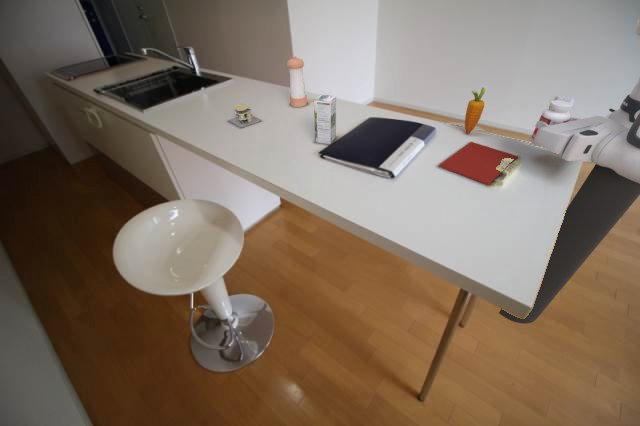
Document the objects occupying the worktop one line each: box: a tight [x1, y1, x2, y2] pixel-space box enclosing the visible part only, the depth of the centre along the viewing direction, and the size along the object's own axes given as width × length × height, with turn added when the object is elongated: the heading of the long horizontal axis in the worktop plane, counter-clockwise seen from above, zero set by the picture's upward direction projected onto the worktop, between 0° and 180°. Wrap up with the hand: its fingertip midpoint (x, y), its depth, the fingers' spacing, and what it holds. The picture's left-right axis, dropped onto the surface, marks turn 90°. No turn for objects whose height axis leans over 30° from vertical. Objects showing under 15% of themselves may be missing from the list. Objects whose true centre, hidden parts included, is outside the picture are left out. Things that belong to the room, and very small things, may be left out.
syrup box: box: [313, 94, 337, 145], centre depth 95 cm, size 6×6×14 cm
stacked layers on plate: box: [229, 103, 261, 129], centre depth 114 cm, size 10×9×6 cm
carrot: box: [464, 87, 486, 135], centre depth 94 cm, size 5×5×15 cm
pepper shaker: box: [286, 55, 308, 108], centre depth 123 cm, size 7×7×19 cm
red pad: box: [438, 141, 519, 186], centre depth 84 cm, size 20×14×1 cm
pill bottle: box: [529, 99, 574, 147], centre depth 77 cm, size 6×6×11 cm
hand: (549, 121), depth 77 cm, fingers closed on pill bottle, 6 cm apart
